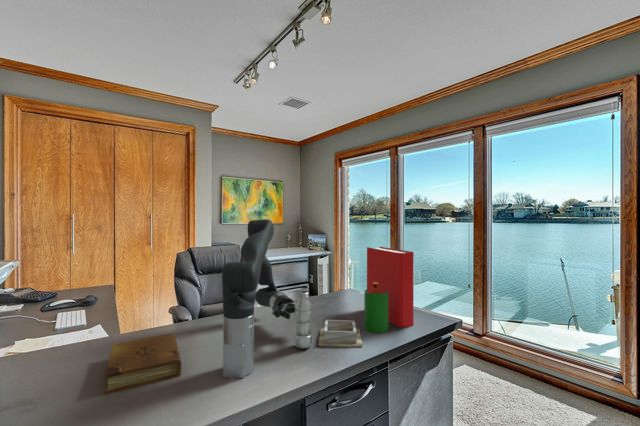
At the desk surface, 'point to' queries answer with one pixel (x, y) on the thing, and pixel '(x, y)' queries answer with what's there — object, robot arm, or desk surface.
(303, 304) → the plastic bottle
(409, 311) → the book
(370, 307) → the motor
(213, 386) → the desk surface
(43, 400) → the desk surface
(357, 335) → the mounting cradle
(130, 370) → the diary
